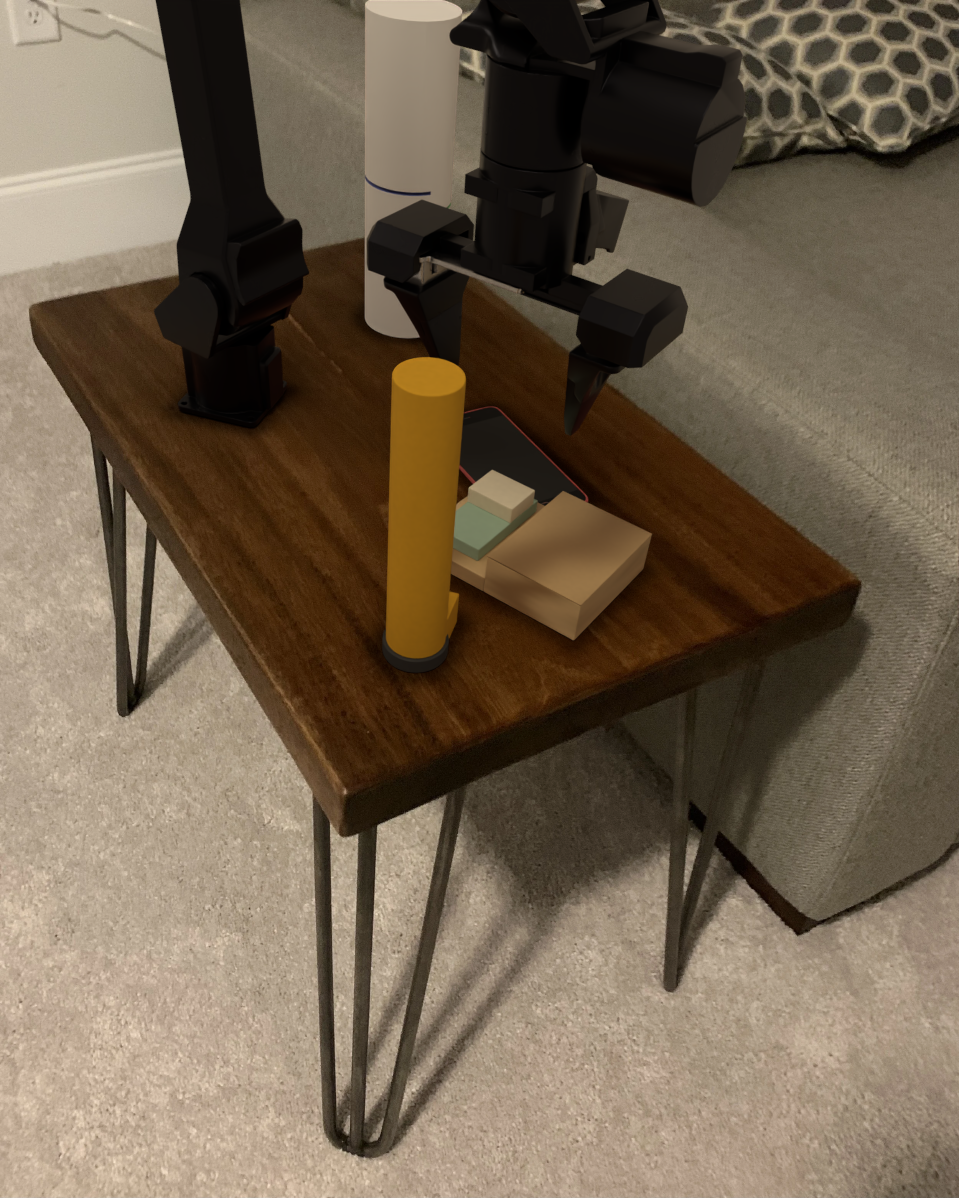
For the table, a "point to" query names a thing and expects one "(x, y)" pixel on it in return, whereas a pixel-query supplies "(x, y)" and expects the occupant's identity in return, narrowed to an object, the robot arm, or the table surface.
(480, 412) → the smartphone
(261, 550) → the table surface
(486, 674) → the table surface
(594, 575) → the flat tan slab box
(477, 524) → the two-tone stepped block
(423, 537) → the tall yellow cylinder post
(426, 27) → the cylindrical container
